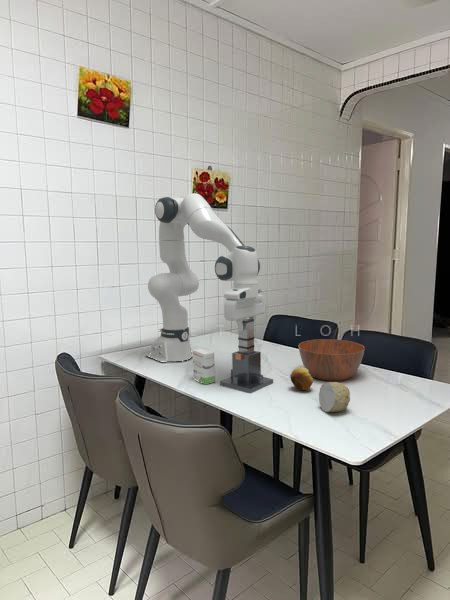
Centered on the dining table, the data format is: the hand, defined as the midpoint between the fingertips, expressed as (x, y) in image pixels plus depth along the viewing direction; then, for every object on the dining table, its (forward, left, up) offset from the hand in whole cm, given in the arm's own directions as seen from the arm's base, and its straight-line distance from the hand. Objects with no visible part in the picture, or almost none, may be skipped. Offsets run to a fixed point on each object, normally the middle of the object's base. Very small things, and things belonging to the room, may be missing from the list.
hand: (245, 329), depth 160 cm
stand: (0, 0, -21) cm, 21 cm away
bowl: (+19, +29, -21) cm, 40 cm away
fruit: (+19, +7, -21) cm, 29 cm away
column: (0, 0, -14) cm, 14 cm away
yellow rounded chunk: (+37, -3, -21) cm, 43 cm away
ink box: (-15, -7, -21) cm, 27 cm away
